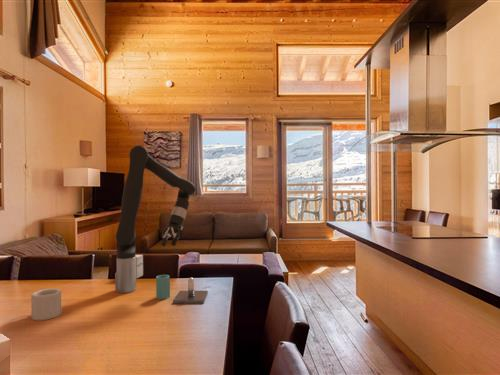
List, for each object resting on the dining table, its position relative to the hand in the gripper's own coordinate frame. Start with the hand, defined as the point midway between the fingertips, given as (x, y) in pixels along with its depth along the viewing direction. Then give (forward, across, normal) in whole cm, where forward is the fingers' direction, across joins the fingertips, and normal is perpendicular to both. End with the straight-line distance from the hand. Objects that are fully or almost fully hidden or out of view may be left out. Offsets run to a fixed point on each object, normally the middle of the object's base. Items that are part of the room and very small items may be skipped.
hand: (167, 245), depth 170 cm
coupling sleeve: (+24, +2, +6) cm, 25 cm away
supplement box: (+14, -42, +13) cm, 46 cm away
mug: (+44, -17, -35) cm, 59 cm away
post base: (+22, +14, +13) cm, 29 cm away
